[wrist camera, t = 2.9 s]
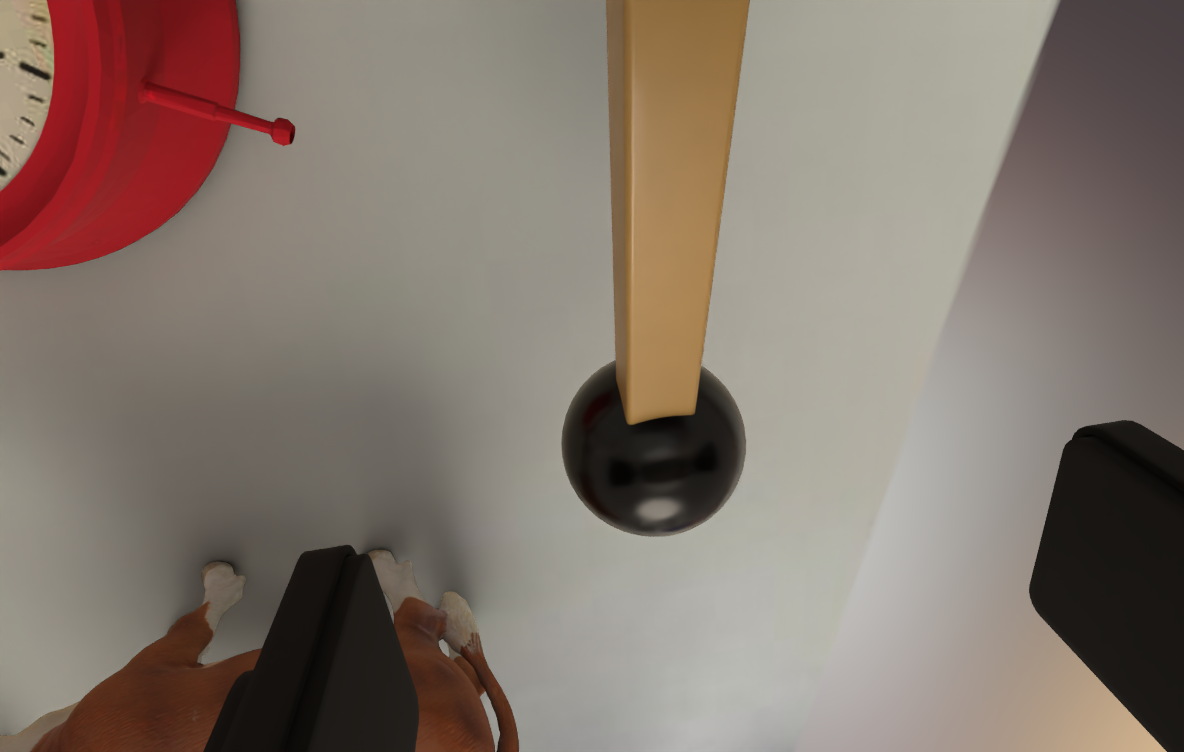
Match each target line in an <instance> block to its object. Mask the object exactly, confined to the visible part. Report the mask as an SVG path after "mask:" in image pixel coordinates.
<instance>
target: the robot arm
mask: <svg viewBox="0 0 1184 752" xmlns="http://www.w3.org/2000/svg"><path fill="white" fill-rule="evenodd" d="M1029 593H1030V598H1031V601H1032V604H1033V606H1034V607H1035V610H1036V611H1037V612H1038V614H1039V615H1040V616H1041V617H1042V618H1043V619H1044V620H1045V622H1046V623H1047V624H1048V625H1050V627H1051V628H1052V629H1053V630H1054V631H1055V632H1056V633H1057V634H1058V635H1059V637H1060V638H1062V640H1063V641H1064V642H1065V643H1066V644H1067V645H1068V646H1069V647H1070V648H1071V649H1072V651H1073V652H1074V653H1075V654H1076V655H1077V656H1078V657H1079V658H1080V659H1081V660H1082V661H1083V662H1084V663H1085V664H1086V666H1087V667H1088V668H1089V669H1090V670H1091V671H1092V672H1093V673H1094V674H1095V675H1096V676H1097V677H1098V678H1099V679H1100V680H1101V682H1102V683H1103V684H1104V685H1105V686H1106V687H1107V688H1108V689H1109V690H1110V691H1111V692H1112V693H1113V694H1114V696H1115V697H1116V698H1117V699H1118V700H1119V701H1120V702H1121V703H1122V704H1123V705H1124V706H1125V707H1126V708H1127V709H1128V711H1129V712H1130V713H1131V714H1132V715H1133V716H1134V717H1135V718H1136V719H1137V720H1138V721H1139V722H1140V723H1141V724H1142V726H1143V727H1144V728H1145V729H1146V730H1147V731H1148V732H1149V733H1150V734H1151V735H1152V736H1153V737H1154V738H1155V739H1156V740H1157V742H1158V743H1159V744H1160V745H1161V746H1162V747H1163V748H1164V749H1165V750H1166V751H1167V752H1184V450H1182V449H1181V448H1179V447H1177V446H1175V445H1174V444H1172V443H1171V442H1169V441H1167V440H1166V439H1164V438H1162V437H1161V436H1159V435H1157V434H1155V433H1154V432H1152V431H1151V430H1149V429H1147V428H1146V427H1144V426H1142V425H1141V424H1138V423H1136V422H1134V421H1127V420H1122V421H1116V422H1111V423H1103V424H1097V425H1091V426H1086V427H1083V428H1080V429H1078V430H1077V432H1076V433H1074V435H1073V438H1072V440H1070V441H1069V442H1068V443H1067V444H1066V445H1065V447H1064V449H1063V453H1062V457H1061V461H1060V465H1059V469H1058V473H1057V477H1056V481H1055V485H1054V489H1053V493H1052V497H1051V501H1050V505H1049V509H1048V513H1047V517H1046V521H1045V525H1044V530H1043V534H1042V537H1041V541H1040V546H1039V550H1038V554H1037V558H1036V562H1035V566H1034V570H1033V574H1032V578H1031V582H1030V587H1029ZM418 726H419V703H418V696H417V692H416V689H415V686H414V683H413V680H412V677H411V674H410V671H409V669H408V666H407V663H406V660H405V657H404V654H403V651H402V648H401V645H400V642H399V639H398V636H397V633H396V630H395V627H394V624H393V621H392V618H391V615H390V612H389V609H388V606H387V603H386V600H385V597H384V595H383V592H382V589H381V586H380V583H379V580H378V577H377V574H376V571H375V568H374V565H373V562H372V560H371V557H370V556H369V555H368V554H360V555H357V554H356V552H355V550H354V548H353V547H352V546H350V545H344V546H337V547H331V548H325V549H319V550H312V551H306V552H304V553H303V554H301V556H300V557H299V559H298V561H297V564H296V566H295V569H294V571H293V574H292V576H291V579H290V581H289V583H288V586H287V588H286V591H285V593H284V596H283V598H282V601H281V603H280V606H279V608H278V611H277V613H276V616H275V618H274V621H273V623H272V625H271V628H270V630H269V633H268V635H267V638H266V640H265V643H264V645H263V648H262V650H261V653H260V655H259V658H258V660H257V662H256V665H255V667H254V670H250V671H245V672H243V673H242V674H241V675H240V676H239V677H238V678H237V679H236V680H235V682H234V684H233V685H232V687H231V689H230V691H229V693H228V695H227V697H226V700H225V702H224V704H223V707H222V709H221V711H220V714H219V716H218V718H217V721H216V723H215V725H214V728H213V730H212V732H211V735H210V737H209V739H208V742H207V744H206V746H205V749H204V751H203V752H415V749H416V741H417V733H418Z"/></svg>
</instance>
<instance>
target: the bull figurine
mask: <svg viewBox="0 0 1184 752" xmlns="http://www.w3.org/2000/svg"><path fill="white" fill-rule="evenodd" d="M366 554H368V555H369V556H370V557H371V560H372V562H373V565H374V568H375V571H376V574H377V577H378V580H379V583H380V586H381V589H382V591H384V592H385V594H386V595H387V597H388V598H389V599H390V601H391V604H392V608H393V613H394V627H395V630H396V633H397V636H398V639H399V642H400V645H401V648H402V651H403V654H404V657H405V660H406V663H407V666H408V669H409V671H410V674H411V677H412V680H413V683H414V686H415V689H416V692H417V696H418V703H419V726H418V733H417V741H416V749H415V752H495V745H494V740H493V735H492V731H491V728H490V724H489V720H488V717H487V714H486V711H485V709H484V707H483V704H482V701H481V699H480V696H481V695H482V694H483V693H484V692H485V691H486V693H487V696H488V697H489V699H490V701H491V704H492V707H493V709H494V711H495V714H496V717H497V721H498V727H499V731H500V737H499V741H498V749H497V752H519V740H518V732H517V728H516V723H515V719H514V716H513V713H512V709H511V707H510V705H509V702H508V700H507V698H506V696H505V694H504V692H503V690H502V688H501V687H500V685H499V683H498V682H497V680H496V679H495V677H494V675H493V674H492V672H491V670H490V669H489V667H488V665H487V662H486V660H485V657H484V654H483V650H482V646H481V641H480V636H479V632H478V628H477V625H476V622H475V619H474V617H473V614H472V612H471V610H470V608H469V605H468V603H467V601H466V600H465V599H464V598H462V597H460V596H459V595H458V594H457V593H456V592H454V591H453V592H446V593H445V594H444V595H443V596H442V599H441V602H440V605H439V609H435V608H433V607H432V606H431V605H429V604H428V602H427V601H426V600H425V599H424V598H423V596H422V595H421V594H420V592H419V590H418V588H417V585H416V582H415V578H414V575H413V569H412V564H411V562H410V560H407V561H404V562H403V563H401V564H398V563H397V562H396V561H395V559H394V558H393V556H392V554H391V553H390V552H389V551H386V550H383V549H382V550H373V551H371V552H368V553H366ZM201 576H202V581H203V584H204V587H205V591H206V593H205V598H204V601H203V603H202V605H201V606H200V607H199V608H198V609H196V610H195V611H194V612H192V613H189V614H187V615H185V616H183V617H181V618H180V619H179V620H177V622H176V623H175V624H174V625H173V626H171V628H170V629H169V631H168V633H167V634H166V635H165V636H164V637H163V638H161V639H159V640H157V641H155V642H154V643H152V644H150V645H149V646H147V647H146V648H144V649H143V650H142V651H141V652H140V653H138V654H137V655H136V656H135V657H134V658H133V659H131V661H130V662H129V663H128V664H127V665H126V666H125V667H124V668H122V669H121V670H120V671H118V672H116V673H115V674H113V675H112V676H110V677H109V678H107V679H106V680H104V681H102V682H101V683H100V684H98V685H97V686H96V687H95V688H94V689H92V690H91V691H90V692H89V693H88V694H87V695H86V696H85V697H84V698H83V699H82V700H81V701H80V702H77V703H75V704H73V705H71V706H68V707H66V708H64V709H61V710H57V711H53V712H49V713H47V714H45V715H43V716H42V717H40V718H39V719H38V720H36V721H35V722H34V723H33V724H31V725H30V726H29V727H27V728H26V729H24V730H23V731H21V732H20V733H18V734H17V735H13V736H1V735H0V752H203V751H204V749H205V746H206V744H207V742H208V739H209V737H210V735H211V732H212V730H213V728H214V725H215V723H216V721H217V718H218V716H219V714H220V711H221V709H222V707H223V704H224V702H225V700H226V697H227V695H228V693H229V691H230V689H231V687H232V685H233V684H234V682H235V680H236V679H237V678H238V677H239V676H240V675H241V674H242V673H243V672H245V671H250V670H254V667H255V665H256V662H257V660H258V658H259V655H260V653H261V650H262V648H261V649H256V650H252V651H249V652H246V653H243V654H240V655H237V656H234V657H232V658H229V659H225V660H222V661H217V662H213V663H209V664H206V665H203V664H201V660H202V657H203V656H204V655H205V654H206V653H208V651H209V649H210V642H211V640H212V638H213V636H214V634H215V631H216V627H217V624H218V621H219V619H220V617H221V616H222V615H223V614H224V612H225V611H226V610H227V609H229V608H230V607H231V606H232V605H234V604H235V603H236V602H238V601H239V600H240V599H241V598H242V592H243V591H242V588H243V587H244V585H245V576H243V575H239V576H235V574H234V571H233V568H232V566H231V565H230V564H228V563H225V562H212V563H209V564H207V565H206V566H205V567H204V568H203V571H202V574H201ZM442 639H444V641H445V642H446V643H447V645H448V648H449V657H448V656H446V655H445V654H444V653H442V651H441V649H440V647H439V641H440V640H442Z"/></svg>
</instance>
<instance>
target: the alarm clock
mask: <svg viewBox="0 0 1184 752" xmlns="http://www.w3.org/2000/svg"><path fill="white" fill-rule="evenodd" d="M239 72H240V35H239V26H238V18H237V9H236V3H235V0H0V271H1V270H35V269H49V268H56V267H62V266H68V265H73V264H78V263H82V262H85V261H89V260H92V259H96V258H99V257H102V256H104V255H107V254H110V253H112V252H115V251H117V250H120V249H122V248H124V247H126V246H128V245H130V244H132V243H133V242H135V241H137V240H139V239H141V238H142V237H144V236H146V235H147V234H149V233H151V232H152V231H154V230H156V229H157V228H159V227H160V226H161V225H163V224H164V223H165V222H166V221H168V220H169V219H170V218H171V217H173V216H174V215H175V214H176V213H178V212H179V211H180V210H181V209H182V208H183V206H184V205H185V204H186V203H187V202H188V201H189V200H190V199H191V198H192V197H193V195H194V194H195V193H196V192H197V191H198V190H199V188H200V187H201V185H202V184H203V182H204V181H205V179H206V178H207V176H208V175H209V173H210V172H211V170H212V169H213V167H214V165H215V163H216V161H217V158H218V156H219V154H220V152H221V150H222V147H223V145H224V143H225V141H226V139H227V135H228V132H229V129H230V125H231V123H232V124H235V125H239V126H242V127H246V128H250V129H253V130H257V131H261V132H264V133H268V134H270V135H271V137H272V139H273V142H275V143H278V144H280V145H283V146H285V145H289V144H292V142H293V139H294V135H295V126H294V125H293V124H292V123H291V122H290V121H289V120H287V119H283V118H277V119H276V120H275V121H274V122H270V121H267V120H264V119H261V118H258V117H255V116H251V115H248V114H245V113H242V112H239V111H236V110H234V109H235V104H236V99H237V94H238V85H239Z"/></svg>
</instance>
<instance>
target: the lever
mask: <svg viewBox="0 0 1184 752" xmlns="http://www.w3.org/2000/svg"><path fill="white" fill-rule="evenodd" d="M749 3H750V0H606V17H607V55H608V92H609V129H610V166H611V204H612V241H613V278H614V316H615V353H616V360H615V361H613V362H611V363H609V364H607V365H605V366H604V367H602V368H600V369H599V370H598V371H596V372H595V373H594V374H593V375H592V376H591V377H590V378H589V379H588V380H587V381H586V382H585V383H584V384H583V385H582V386H581V388H580V389H579V391H578V392H577V394H576V395H575V397H574V398H573V400H572V402H571V404H570V407H569V409H568V411H567V414H566V417H565V421H564V425H563V430H562V457H563V462H564V466H565V470H566V473H567V476H568V479H569V481H570V483H571V485H572V487H573V489H574V490H575V492H576V494H577V495H578V497H579V498H580V500H581V501H582V502H583V503H584V505H585V506H586V507H587V508H588V509H589V510H590V511H591V512H592V513H593V514H595V515H596V516H597V517H598V518H600V519H601V520H603V521H604V522H606V523H607V524H609V525H610V526H612V527H615V528H617V529H619V530H622V531H624V532H627V533H631V534H635V535H640V536H649V537H658V536H670V535H675V534H679V533H682V532H685V531H688V530H690V529H692V528H694V527H696V526H698V525H700V524H702V523H704V522H705V521H707V520H708V519H709V518H711V517H712V516H713V515H714V514H715V513H717V512H718V511H719V510H720V509H721V508H722V506H723V505H724V504H725V503H726V502H727V500H728V499H729V498H730V496H731V495H732V493H733V491H734V489H735V488H736V486H737V484H738V481H739V479H740V476H741V473H742V470H743V466H744V461H745V454H746V438H745V430H744V424H743V420H742V417H741V414H740V411H739V409H738V407H737V405H736V402H735V400H734V399H733V397H732V396H731V394H730V393H729V391H728V390H727V388H726V387H725V386H724V385H723V384H722V383H721V381H720V380H719V379H718V378H717V377H716V376H714V375H713V374H712V373H711V372H710V371H708V370H707V369H706V368H704V367H702V366H701V364H702V356H703V349H704V341H705V334H706V326H707V319H708V311H709V304H710V296H711V288H712V281H713V273H714V266H715V258H716V251H717V243H718V236H719V228H720V221H721V213H722V206H723V198H724V191H725V183H726V176H727V168H728V161H729V153H730V146H731V138H732V131H733V123H734V116H735V108H736V101H737V93H738V86H739V78H740V71H741V63H742V55H743V48H744V40H745V33H746V25H747V18H748V10H749Z"/></svg>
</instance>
